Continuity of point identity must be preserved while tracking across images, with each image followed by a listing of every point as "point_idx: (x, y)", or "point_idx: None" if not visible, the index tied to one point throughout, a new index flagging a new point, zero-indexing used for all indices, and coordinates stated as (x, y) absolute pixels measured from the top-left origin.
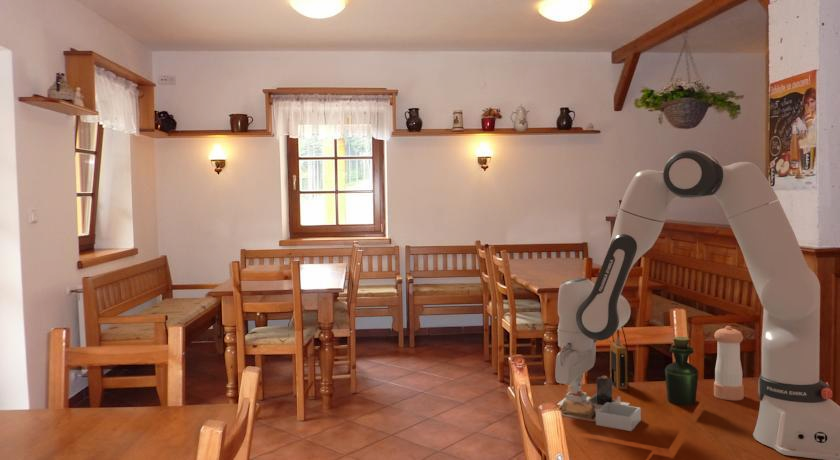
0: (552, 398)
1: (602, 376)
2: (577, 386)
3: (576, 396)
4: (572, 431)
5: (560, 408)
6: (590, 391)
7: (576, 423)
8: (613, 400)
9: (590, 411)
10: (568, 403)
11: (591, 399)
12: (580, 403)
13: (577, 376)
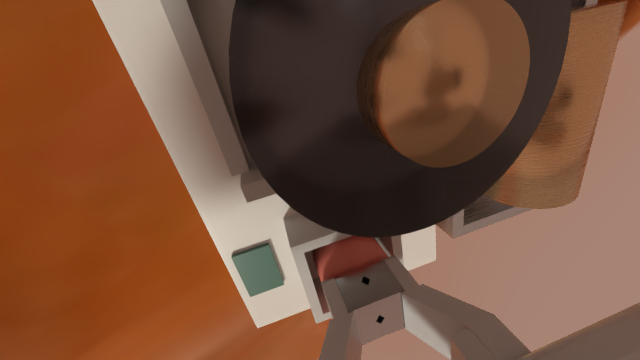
0: (303, 342)
1: (472, 131)
2: (417, 289)
3: (399, 236)
4: (621, 35)
5: (474, 216)
6: (40, 342)
7: None
8: (199, 36)
9: (595, 4)
10: (584, 164)
11: None
12: (599, 97)
13: (626, 344)
